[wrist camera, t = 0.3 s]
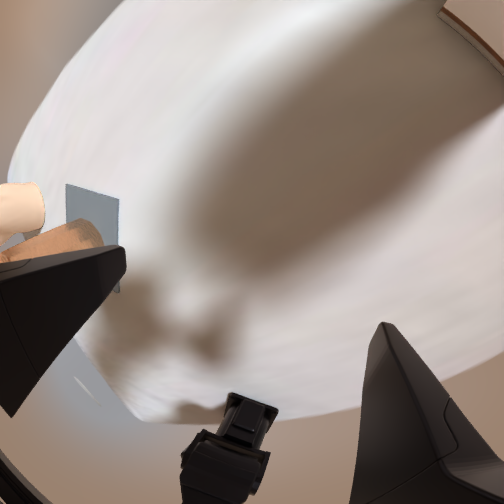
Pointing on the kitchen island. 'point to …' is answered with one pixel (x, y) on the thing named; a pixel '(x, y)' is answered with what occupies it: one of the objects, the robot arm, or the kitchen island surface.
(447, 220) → the kitchen island surface
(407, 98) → the kitchen island surface
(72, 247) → the brown tapered cup
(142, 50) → the kitchen island surface
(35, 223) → the water bottle
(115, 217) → the slate mat
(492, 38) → the tall white column
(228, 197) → the kitchen island surface
